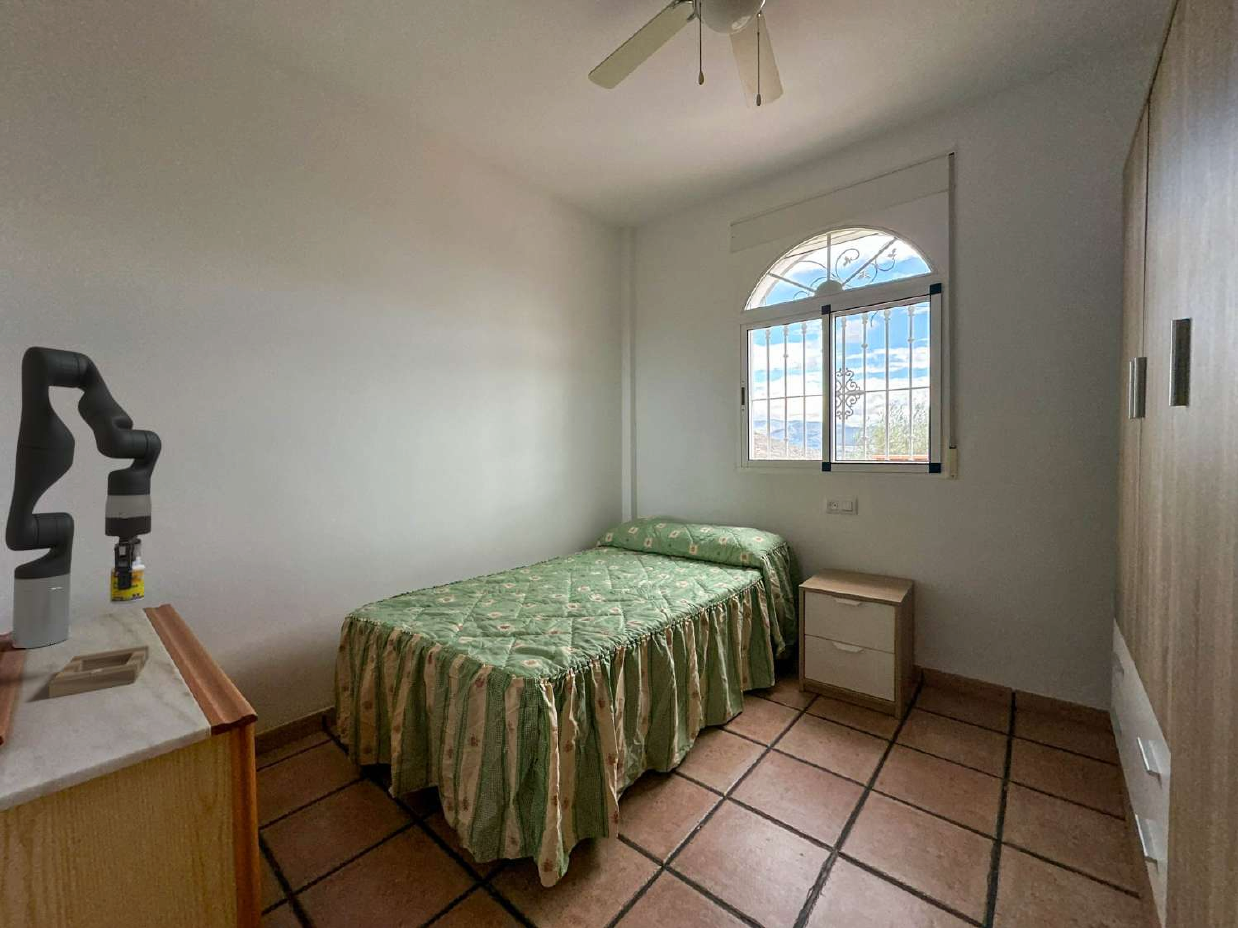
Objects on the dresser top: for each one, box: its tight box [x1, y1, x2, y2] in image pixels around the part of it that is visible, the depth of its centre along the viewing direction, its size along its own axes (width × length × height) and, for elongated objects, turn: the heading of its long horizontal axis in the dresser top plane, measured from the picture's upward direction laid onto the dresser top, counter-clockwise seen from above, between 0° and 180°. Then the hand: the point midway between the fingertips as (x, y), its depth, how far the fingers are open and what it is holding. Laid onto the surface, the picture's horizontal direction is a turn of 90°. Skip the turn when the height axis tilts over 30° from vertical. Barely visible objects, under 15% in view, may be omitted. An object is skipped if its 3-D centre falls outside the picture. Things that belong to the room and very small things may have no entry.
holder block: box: [48, 644, 150, 699], centre depth 104 cm, size 16×12×3 cm
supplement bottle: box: [109, 556, 146, 605], centre depth 111 cm, size 6×6×10 cm
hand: (127, 586), depth 111 cm, fingers closed on supplement bottle, 5 cm apart
